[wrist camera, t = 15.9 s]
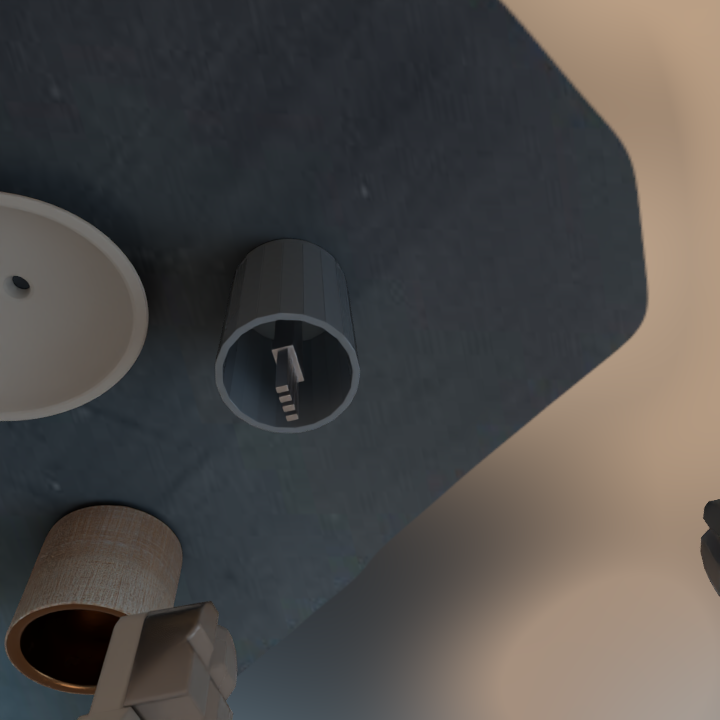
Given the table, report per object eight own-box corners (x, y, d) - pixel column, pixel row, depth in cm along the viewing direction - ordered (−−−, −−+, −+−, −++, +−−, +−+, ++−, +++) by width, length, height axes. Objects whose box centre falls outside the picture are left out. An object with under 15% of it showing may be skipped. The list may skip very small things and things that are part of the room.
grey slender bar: (293, 276, 42) (292, 381, 32) (303, 309, 43) (305, 419, 33) (275, 281, 42) (268, 387, 32) (286, 313, 43) (282, 425, 33)
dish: (104, 129, 37) (80, 153, 33) (197, 341, 45) (187, 382, 40) (-184, 208, 38) (-245, 241, 34) (-44, 402, 46) (-79, 448, 41)
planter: (59, 591, 56) (18, 698, 48) (36, 498, 51) (-14, 603, 43) (187, 589, 58) (169, 694, 50) (179, 499, 52) (157, 600, 44)
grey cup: (332, 226, 41) (341, 298, 32) (358, 328, 45) (372, 416, 37) (215, 253, 41) (194, 332, 33) (251, 353, 45) (240, 445, 37)
